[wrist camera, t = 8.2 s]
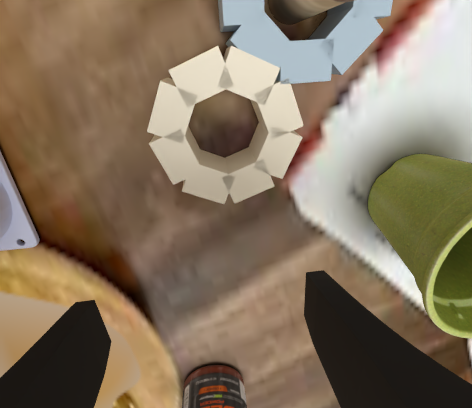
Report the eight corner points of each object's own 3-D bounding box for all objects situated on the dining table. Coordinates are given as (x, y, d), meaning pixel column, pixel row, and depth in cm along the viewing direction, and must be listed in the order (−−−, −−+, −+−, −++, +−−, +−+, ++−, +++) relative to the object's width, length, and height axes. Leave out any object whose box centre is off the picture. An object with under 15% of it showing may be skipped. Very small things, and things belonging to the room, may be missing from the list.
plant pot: (351, 134, 18) (458, 187, 11) (488, 121, 19) (683, 161, 11) (338, 251, 23) (408, 350, 15) (450, 238, 23) (573, 325, 16)
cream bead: (196, 198, 19) (194, 221, 17) (133, 89, 16) (119, 94, 13) (300, 152, 19) (316, 167, 16) (258, 26, 15) (270, 19, 13)
